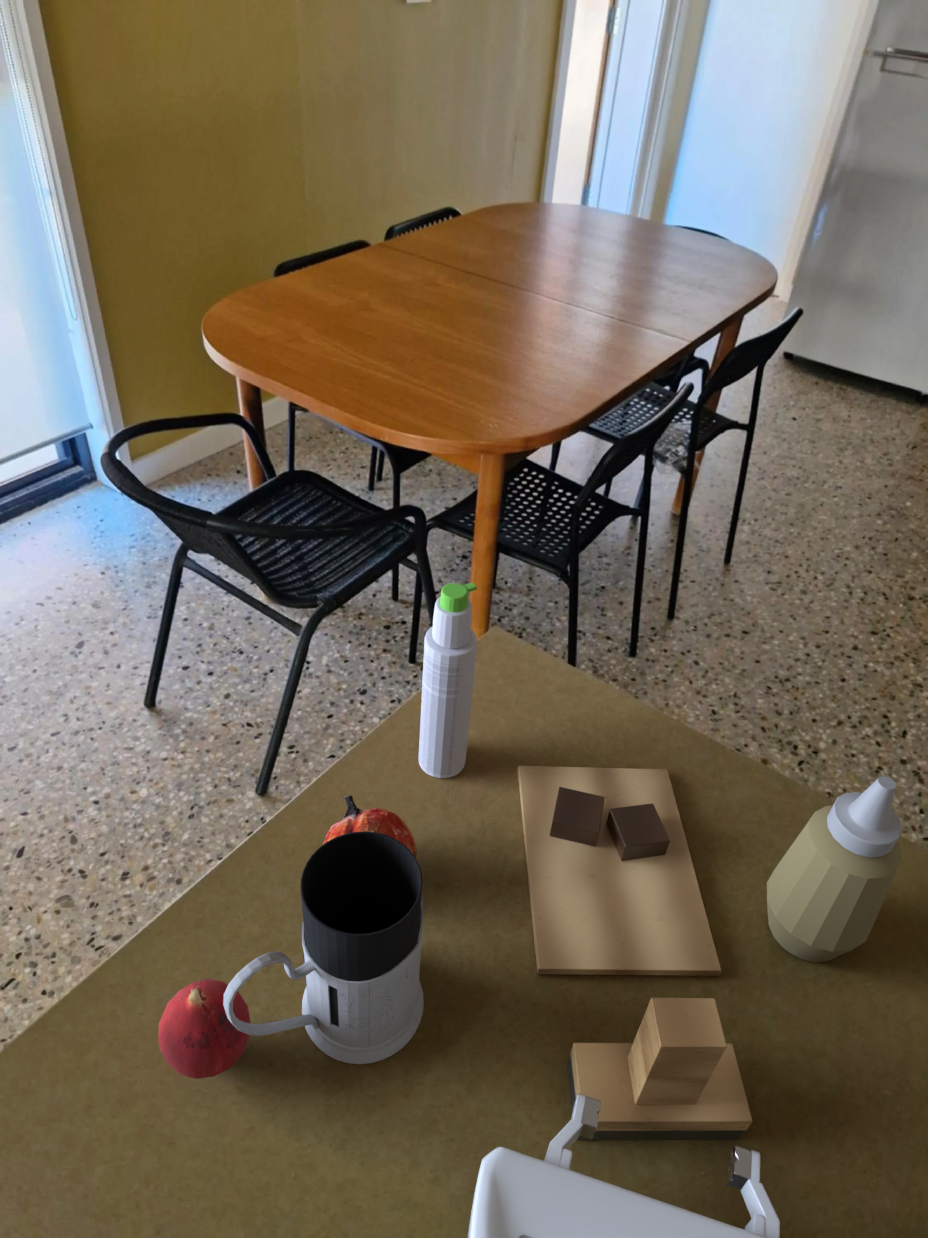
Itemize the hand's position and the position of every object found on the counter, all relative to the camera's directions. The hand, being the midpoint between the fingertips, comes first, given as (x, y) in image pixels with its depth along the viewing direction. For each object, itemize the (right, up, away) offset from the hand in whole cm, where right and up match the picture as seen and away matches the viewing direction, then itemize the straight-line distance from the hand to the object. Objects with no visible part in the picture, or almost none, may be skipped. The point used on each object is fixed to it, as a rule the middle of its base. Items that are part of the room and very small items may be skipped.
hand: (664, 1125), depth 53 cm
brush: (+1, -2, +7) cm, 7 cm away
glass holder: (-21, +2, +9) cm, 23 cm away
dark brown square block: (+3, +12, +23) cm, 26 cm away
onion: (-29, +1, +7) cm, 30 cm away
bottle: (-14, +17, +29) cm, 37 cm away
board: (0, +10, +22) cm, 24 cm away
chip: (-2, +13, +24) cm, 27 cm away
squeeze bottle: (+15, +5, +18) cm, 24 cm away
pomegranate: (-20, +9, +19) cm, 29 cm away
